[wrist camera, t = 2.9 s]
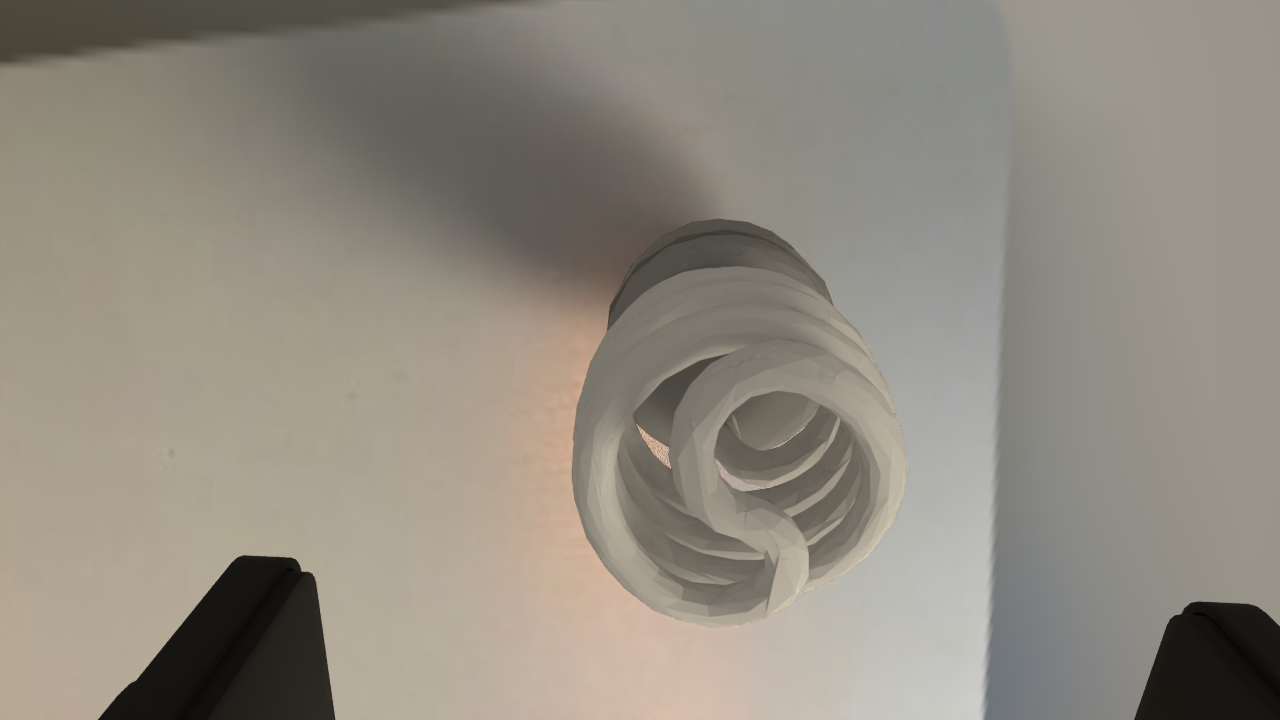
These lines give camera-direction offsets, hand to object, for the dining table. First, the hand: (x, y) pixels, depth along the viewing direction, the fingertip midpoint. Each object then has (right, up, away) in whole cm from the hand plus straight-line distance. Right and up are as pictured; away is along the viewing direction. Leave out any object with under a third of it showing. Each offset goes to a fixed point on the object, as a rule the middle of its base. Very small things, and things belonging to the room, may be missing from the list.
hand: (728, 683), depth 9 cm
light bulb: (+1, +6, +14) cm, 15 cm away
